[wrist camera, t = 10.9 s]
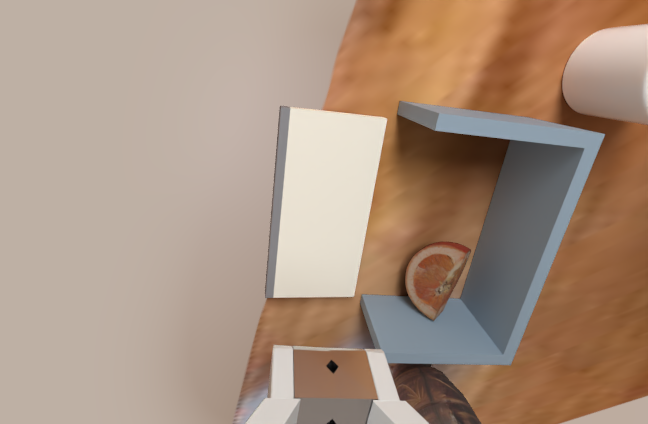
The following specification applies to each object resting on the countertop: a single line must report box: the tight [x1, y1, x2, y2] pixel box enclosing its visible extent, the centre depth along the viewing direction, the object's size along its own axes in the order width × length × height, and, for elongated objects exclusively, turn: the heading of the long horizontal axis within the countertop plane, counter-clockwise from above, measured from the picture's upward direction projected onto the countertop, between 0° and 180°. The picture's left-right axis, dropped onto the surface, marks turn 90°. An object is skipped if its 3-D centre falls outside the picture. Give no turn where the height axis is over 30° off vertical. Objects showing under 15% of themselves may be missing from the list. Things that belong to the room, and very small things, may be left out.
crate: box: [360, 101, 605, 365], centre depth 34 cm, size 22×13×9 cm, turn 173°
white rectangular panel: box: [265, 106, 387, 298], centre depth 35 cm, size 19×1×10 cm
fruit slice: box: [405, 242, 471, 321], centre depth 38 cm, size 8×7×5 cm
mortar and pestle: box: [388, 363, 481, 424], centre depth 35 cm, size 12×9×20 cm
